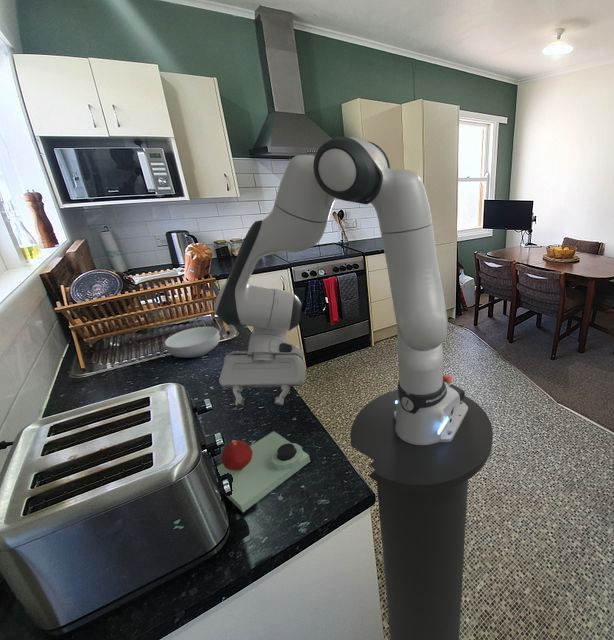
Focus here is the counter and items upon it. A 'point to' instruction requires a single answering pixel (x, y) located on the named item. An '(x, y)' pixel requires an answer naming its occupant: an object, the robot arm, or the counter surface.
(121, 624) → the counter surface
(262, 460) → the scale
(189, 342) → the cereal bowl
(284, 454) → the button
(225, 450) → the onion
